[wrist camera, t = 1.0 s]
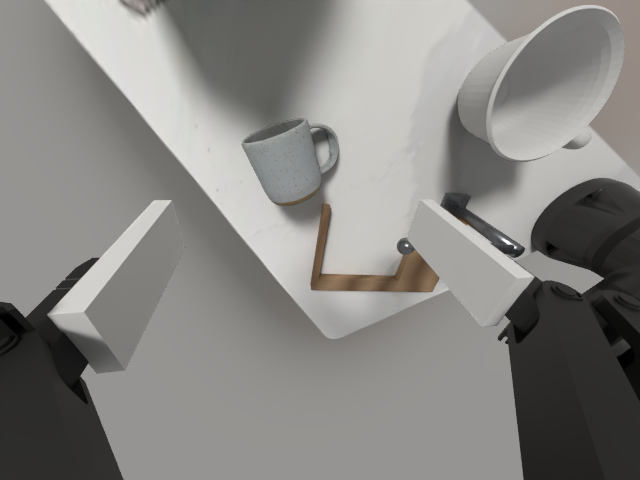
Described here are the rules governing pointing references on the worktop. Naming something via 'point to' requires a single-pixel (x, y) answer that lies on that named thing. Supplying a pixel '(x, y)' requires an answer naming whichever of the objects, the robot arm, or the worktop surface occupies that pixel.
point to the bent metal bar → (457, 208)
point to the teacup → (544, 85)
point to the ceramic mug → (289, 160)
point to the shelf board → (408, 277)
